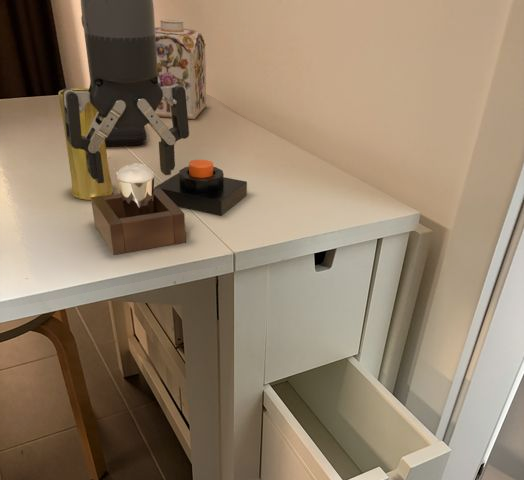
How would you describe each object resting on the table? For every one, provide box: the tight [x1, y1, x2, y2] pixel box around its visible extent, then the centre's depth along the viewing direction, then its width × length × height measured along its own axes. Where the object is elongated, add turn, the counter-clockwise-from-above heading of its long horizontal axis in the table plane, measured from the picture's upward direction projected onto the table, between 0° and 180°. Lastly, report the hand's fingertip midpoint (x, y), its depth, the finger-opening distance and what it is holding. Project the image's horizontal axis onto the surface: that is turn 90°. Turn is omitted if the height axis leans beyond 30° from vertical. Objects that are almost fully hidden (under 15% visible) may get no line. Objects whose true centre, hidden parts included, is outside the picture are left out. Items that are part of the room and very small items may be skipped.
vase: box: [58, 87, 114, 201], centre depth 80 cm, size 6×6×14 cm
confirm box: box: [154, 166, 248, 216], centre depth 83 cm, size 11×9×4 cm
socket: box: [90, 188, 186, 256], centre depth 72 cm, size 10×10×4 cm
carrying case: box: [105, 126, 148, 147], centre depth 107 cm, size 11×3×15 cm
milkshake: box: [108, 156, 155, 218], centre depth 70 cm, size 5×5×10 cm
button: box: [188, 159, 214, 178], centre depth 82 cm, size 4×4×2 cm
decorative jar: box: [155, 18, 207, 120], centre depth 120 cm, size 12×12×18 cm
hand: (133, 177), depth 69 cm, fingers open, 8 cm apart
